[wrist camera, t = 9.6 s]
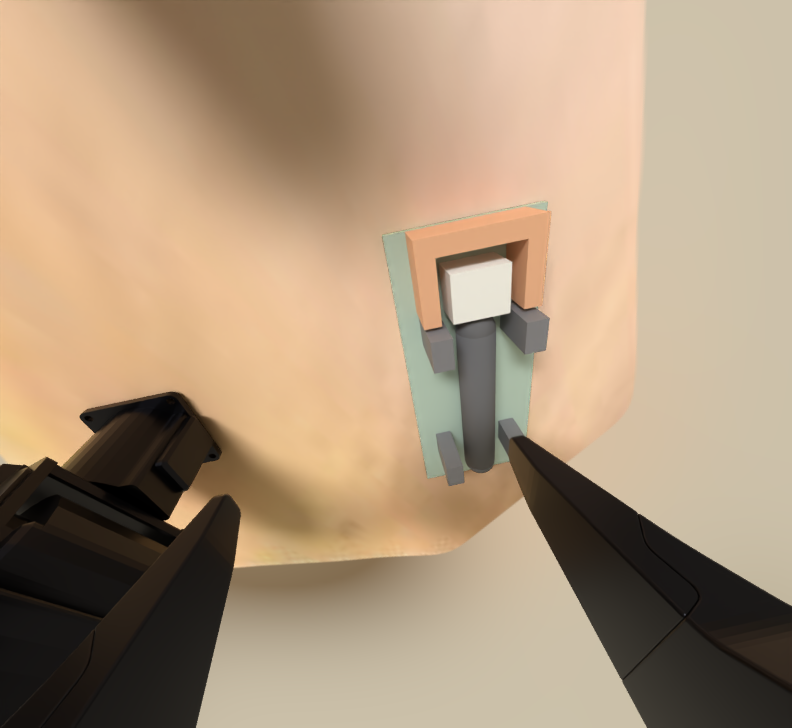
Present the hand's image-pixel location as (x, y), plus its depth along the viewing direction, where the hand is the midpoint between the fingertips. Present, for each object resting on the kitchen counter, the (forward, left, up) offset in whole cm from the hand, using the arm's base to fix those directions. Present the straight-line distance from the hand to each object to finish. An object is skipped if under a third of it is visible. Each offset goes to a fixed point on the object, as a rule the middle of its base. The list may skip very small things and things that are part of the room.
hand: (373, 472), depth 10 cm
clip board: (+7, -6, -11) cm, 14 cm away
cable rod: (+7, -6, -11) cm, 14 cm away
